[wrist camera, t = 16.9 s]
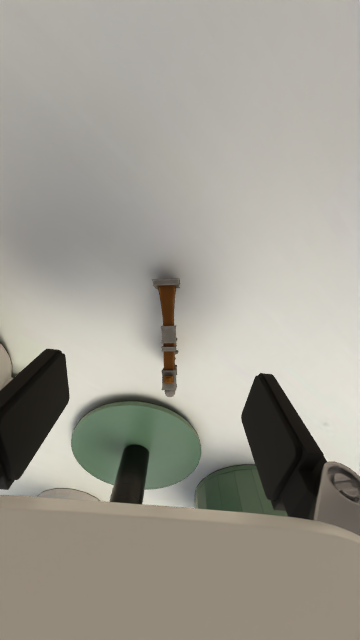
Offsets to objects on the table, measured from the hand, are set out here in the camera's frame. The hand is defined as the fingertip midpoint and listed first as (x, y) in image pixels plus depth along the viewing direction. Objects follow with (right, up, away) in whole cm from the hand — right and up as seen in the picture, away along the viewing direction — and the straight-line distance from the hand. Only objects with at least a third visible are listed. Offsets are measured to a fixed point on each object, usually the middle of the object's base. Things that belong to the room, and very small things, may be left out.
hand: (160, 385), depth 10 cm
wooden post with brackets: (0, +3, +7) cm, 7 cm away
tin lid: (-4, -11, +12) cm, 16 cm away
